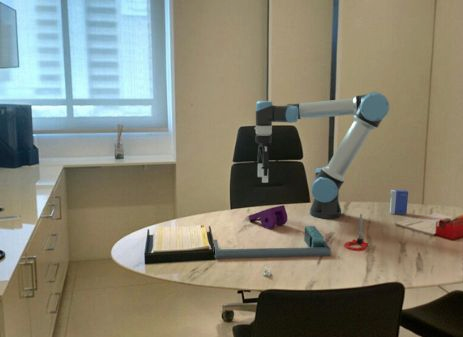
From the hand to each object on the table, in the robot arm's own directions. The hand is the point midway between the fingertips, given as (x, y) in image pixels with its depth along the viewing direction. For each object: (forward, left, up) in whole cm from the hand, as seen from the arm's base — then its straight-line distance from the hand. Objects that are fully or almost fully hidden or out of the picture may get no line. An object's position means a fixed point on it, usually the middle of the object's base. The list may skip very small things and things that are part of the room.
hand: (262, 179), depth 230 cm
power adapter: (+8, +70, -19) cm, 73 cm away
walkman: (-69, -2, -18) cm, 72 cm away
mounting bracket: (0, +11, -19) cm, 22 cm away
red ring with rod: (-31, +44, -19) cm, 57 cm away
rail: (+4, +41, -18) cm, 45 cm away
